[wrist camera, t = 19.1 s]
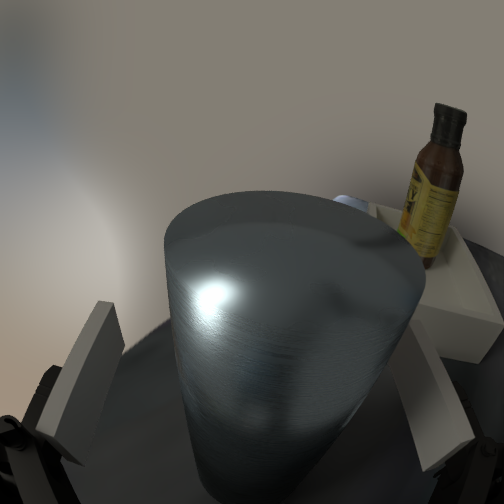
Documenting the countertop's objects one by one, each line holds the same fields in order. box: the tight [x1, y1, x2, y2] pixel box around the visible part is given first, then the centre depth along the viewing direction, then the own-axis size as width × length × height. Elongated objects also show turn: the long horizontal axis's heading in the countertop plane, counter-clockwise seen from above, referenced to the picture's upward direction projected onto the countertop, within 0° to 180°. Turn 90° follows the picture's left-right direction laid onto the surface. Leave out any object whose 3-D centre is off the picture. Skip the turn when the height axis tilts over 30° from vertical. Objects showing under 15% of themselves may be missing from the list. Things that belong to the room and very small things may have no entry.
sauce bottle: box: [397, 103, 467, 270], centre depth 30 cm, size 6×6×20 cm
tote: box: [367, 202, 504, 364], centre depth 31 cm, size 22×14×5 cm, turn 160°
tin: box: [164, 191, 426, 504], centre depth 11 cm, size 6×6×15 cm
